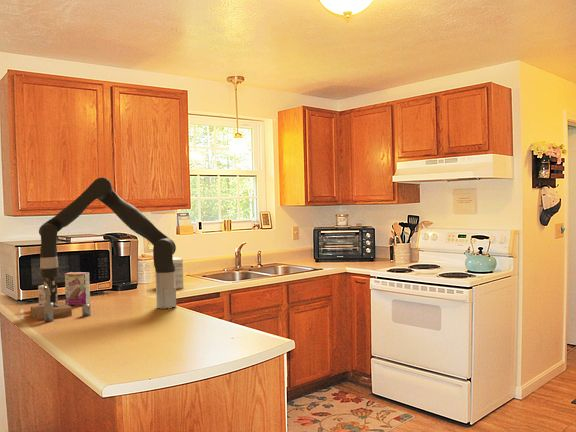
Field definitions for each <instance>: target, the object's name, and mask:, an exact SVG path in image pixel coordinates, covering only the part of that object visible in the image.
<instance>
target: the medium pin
mask: <svg viewBox="0 0 576 432" xmlns="http://www.w3.org/2000/svg"><path fill="white" fill-rule="evenodd" d="M43 321H44V323H50V322H51V323H52V322H54V318H53V302H47V303H44V320H43Z"/></svg>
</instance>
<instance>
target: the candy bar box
mask: <svg viewBox="0 0 576 432" xmlns="http://www.w3.org/2000/svg"><path fill="white" fill-rule="evenodd" d="M90 283H91V282H90V272H81V271H78V272H71V271H70V272H66V273H64V292H65V294H64V296H65V298H64V299H65V302H64V303H65V304H67V305H69V306H82V305H84V304H90V305H91V287H90Z"/></svg>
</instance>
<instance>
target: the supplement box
mask: <svg viewBox="0 0 576 432" xmlns="http://www.w3.org/2000/svg"><path fill="white" fill-rule="evenodd" d="M183 262H184V259H183V258H181V257H179V256H178V257H173V264H174V266H175V286H176V290H178V289H184V263H183Z"/></svg>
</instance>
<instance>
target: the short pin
mask: <svg viewBox="0 0 576 432" xmlns="http://www.w3.org/2000/svg"><path fill="white" fill-rule="evenodd" d="M81 312H82V313H81V315H82V317H84V318H85V317H90V316H92V310H91V303H90V304H84V305H81Z"/></svg>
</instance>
